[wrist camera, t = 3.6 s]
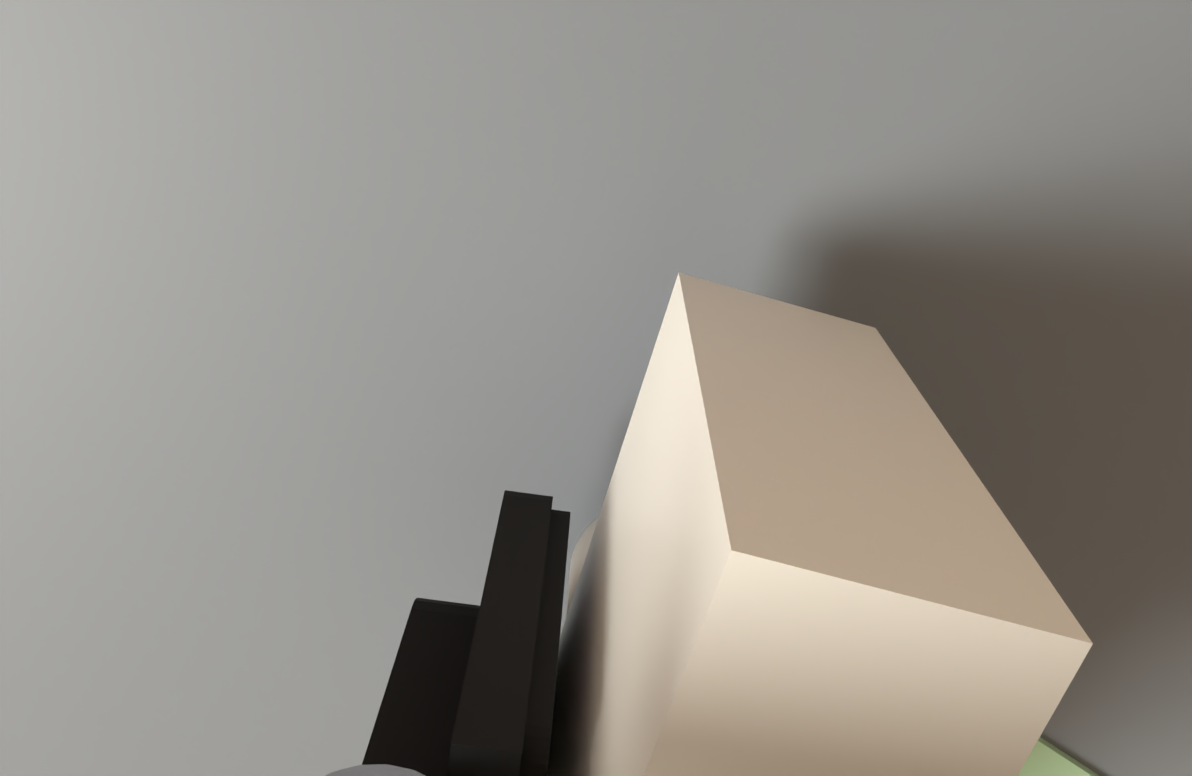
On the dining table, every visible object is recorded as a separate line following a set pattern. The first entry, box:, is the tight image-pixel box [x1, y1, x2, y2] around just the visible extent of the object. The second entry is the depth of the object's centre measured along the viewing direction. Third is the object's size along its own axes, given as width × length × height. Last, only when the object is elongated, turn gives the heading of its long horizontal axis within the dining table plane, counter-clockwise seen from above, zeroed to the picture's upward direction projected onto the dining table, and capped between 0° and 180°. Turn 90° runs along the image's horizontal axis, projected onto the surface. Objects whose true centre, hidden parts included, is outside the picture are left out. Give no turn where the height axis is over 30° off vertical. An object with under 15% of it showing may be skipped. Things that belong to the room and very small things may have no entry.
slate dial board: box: [0, 0, 1192, 776], centre depth 14 cm, size 18×20×2 cm
